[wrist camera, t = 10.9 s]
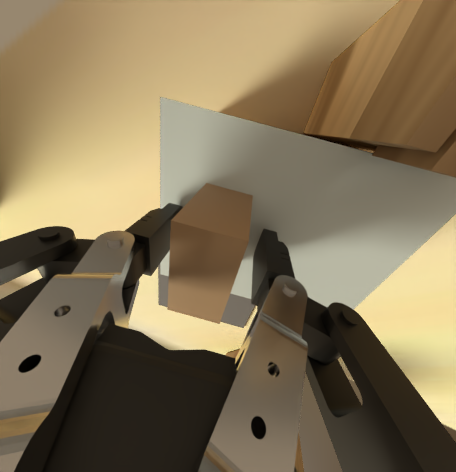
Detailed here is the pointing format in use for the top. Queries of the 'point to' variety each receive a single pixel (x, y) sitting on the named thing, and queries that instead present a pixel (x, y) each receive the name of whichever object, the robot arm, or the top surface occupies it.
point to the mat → (234, 310)
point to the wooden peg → (424, 157)
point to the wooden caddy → (394, 82)
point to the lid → (285, 209)
